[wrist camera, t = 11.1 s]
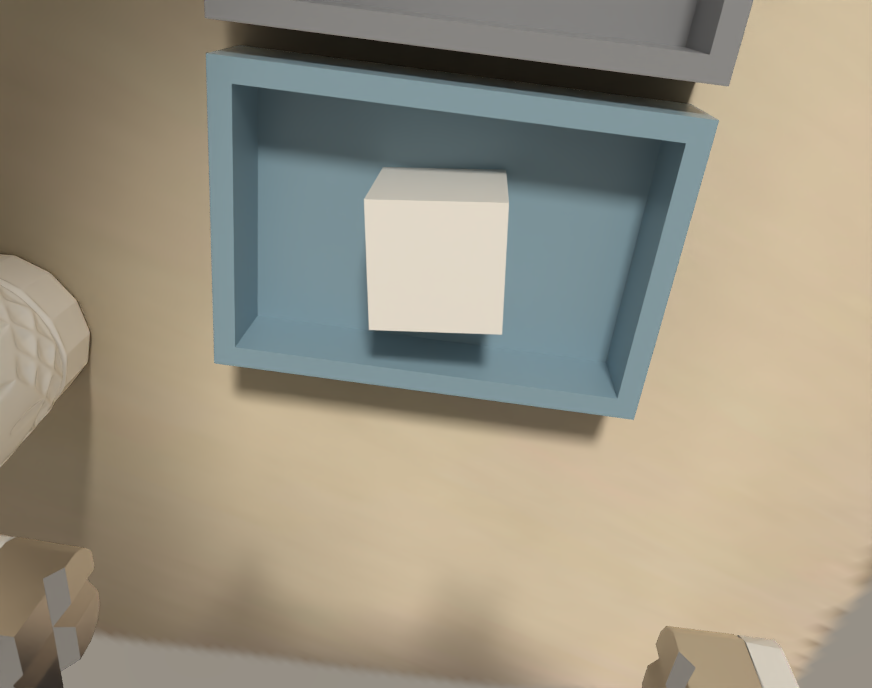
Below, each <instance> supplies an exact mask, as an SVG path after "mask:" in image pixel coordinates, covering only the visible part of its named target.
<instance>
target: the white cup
mask: <svg viewBox="0 0 872 688" xmlns="http://www.w3.org/2000/svg"><path fill="white" fill-rule="evenodd" d="M89 340H90V331H89V328H88V326H87V324H86V321H85V319H84V316H83V314H82V312H81V309H80V307H79V304H78V302H77V300H76V299H75V298H74V297H73V296H72V295H71V294H70V293H69V292H68V291H67V290H66V289H65V288H64V287H63V286H62V284H61V283H60V282H59V281H58V280H57V279H56V278H55V277H54V276H53V275H52V274H51V273H50V272H48V271H46V270H44V269H42V268H40V267H38V266H36V265H34V264H32V263H30V262H27V261H25V260H23V259H21V258H19V257H17V256H15V255H4V254H0V467H1V466H2V465H3V464H4V463H5V462H6V461H7V460H8V459H9V458H10V457H11V455H12V454H13V453H14V452H15V451H16V449H17V448H18V447H19V445H20V444H21V443H22V442H23V441H24V440H25V439H26V438H27V437H28V436H29V435H30V434H31V432H32V431H33V430H34V429H35V428H36V426H37V425H38V424H39V422H40V421H41V420H42V419H43V418H44V417H45V416H46V415H47V414H48V413H49V412H50V411H51V409H52V408H53V406H54V403H55V401H56V400H57V399H58V398H59V397H60V396H61V395H62V394H63V393H64V391H65V390H66V389H67V388H68V387H69V386H70V385H71V384H72V382H73V381H74V380H75V379H76V377H77V376H78V375H79V373H80V372H81V371H82V369H83V368H84V367H85V365H86V364H87V363H88V354H89Z"/></svg>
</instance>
